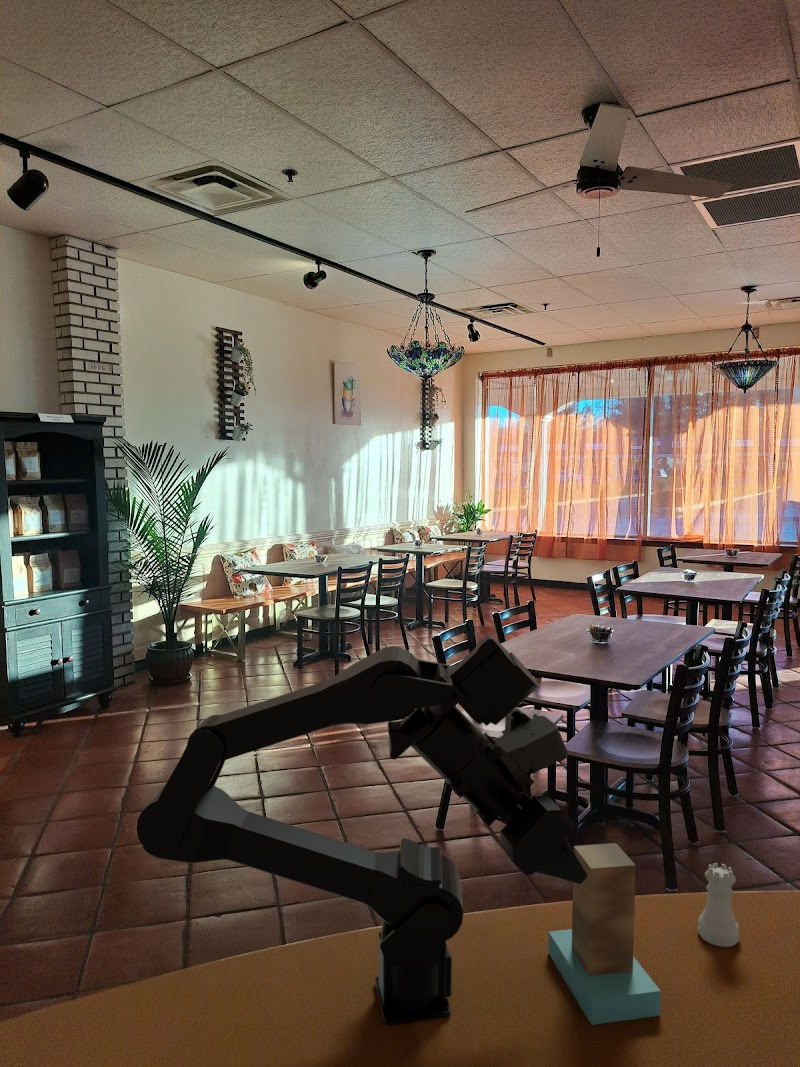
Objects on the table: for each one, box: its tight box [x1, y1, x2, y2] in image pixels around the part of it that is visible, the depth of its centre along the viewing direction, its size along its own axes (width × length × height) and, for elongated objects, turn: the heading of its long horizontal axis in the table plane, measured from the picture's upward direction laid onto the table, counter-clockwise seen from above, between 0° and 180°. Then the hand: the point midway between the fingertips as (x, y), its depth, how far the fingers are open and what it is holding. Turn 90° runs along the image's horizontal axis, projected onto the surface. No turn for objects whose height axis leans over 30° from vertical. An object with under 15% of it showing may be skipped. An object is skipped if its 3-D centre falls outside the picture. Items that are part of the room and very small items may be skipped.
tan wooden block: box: [571, 842, 637, 976], centre depth 78 cm, size 5×5×11 cm
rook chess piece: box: [696, 862, 741, 948], centre depth 86 cm, size 4×4×8 cm
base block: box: [547, 928, 662, 1026], centre depth 78 cm, size 7×11×2 cm, turn 11°
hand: (564, 856), depth 77 cm, fingers open, 9 cm apart
